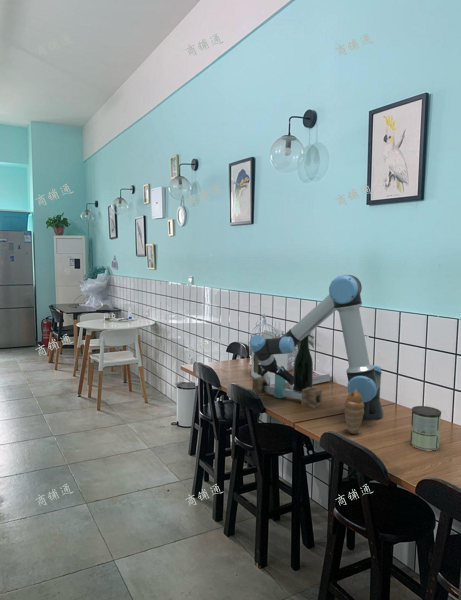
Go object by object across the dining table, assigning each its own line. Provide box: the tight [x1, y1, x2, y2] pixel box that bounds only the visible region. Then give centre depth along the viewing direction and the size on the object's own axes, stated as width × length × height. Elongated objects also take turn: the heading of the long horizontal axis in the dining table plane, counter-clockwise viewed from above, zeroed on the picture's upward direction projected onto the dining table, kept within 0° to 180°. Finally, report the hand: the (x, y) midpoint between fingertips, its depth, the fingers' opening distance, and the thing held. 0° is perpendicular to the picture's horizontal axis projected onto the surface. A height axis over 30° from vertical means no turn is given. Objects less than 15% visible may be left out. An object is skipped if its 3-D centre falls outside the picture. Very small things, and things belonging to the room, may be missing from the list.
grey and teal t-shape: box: [262, 372, 302, 401], centre depth 233 cm, size 28×4×13 cm, turn 53°
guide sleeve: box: [300, 386, 323, 409], centre depth 224 cm, size 7×7×8 cm
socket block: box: [251, 376, 271, 397], centre depth 241 cm, size 5×9×8 cm, turn 143°
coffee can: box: [409, 405, 442, 450], centre depth 176 cm, size 10×10×14 cm
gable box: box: [250, 329, 289, 385], centre depth 269 cm, size 22×13×28 cm, turn 19°
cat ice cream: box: [343, 389, 364, 435], centre depth 187 cm, size 9×8×18 cm
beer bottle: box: [292, 333, 314, 392], centre depth 246 cm, size 10×10×33 cm
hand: (280, 384), depth 236 cm, fingers open, 13 cm apart
